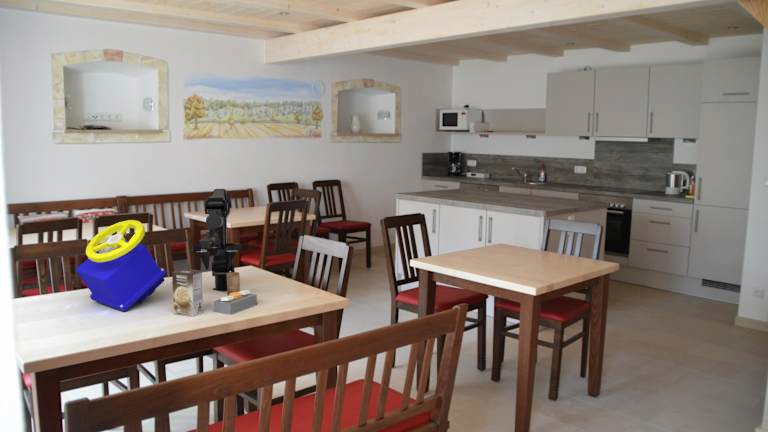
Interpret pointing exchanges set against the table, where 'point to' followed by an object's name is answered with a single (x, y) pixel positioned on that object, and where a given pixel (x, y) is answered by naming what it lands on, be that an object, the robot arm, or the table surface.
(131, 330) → the table surface
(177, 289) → the coffee box
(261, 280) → the table surface
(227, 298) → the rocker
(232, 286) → the wood post
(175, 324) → the table surface
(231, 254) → the robot arm
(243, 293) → the block
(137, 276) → the control box
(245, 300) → the switch panel
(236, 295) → the block
